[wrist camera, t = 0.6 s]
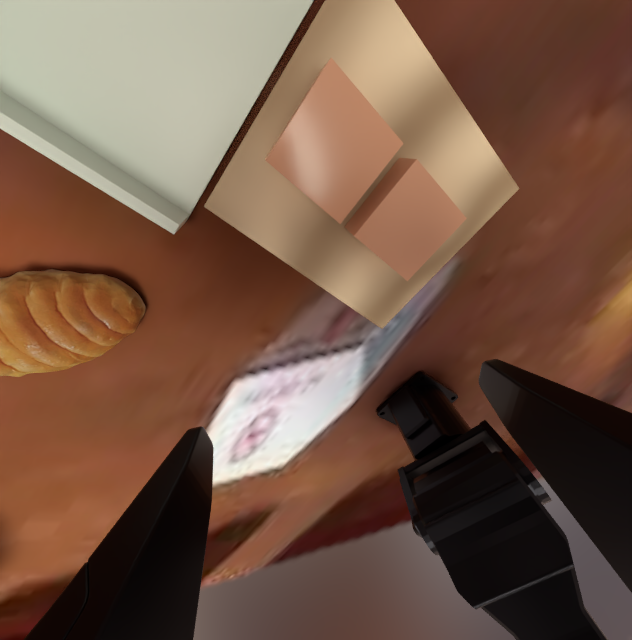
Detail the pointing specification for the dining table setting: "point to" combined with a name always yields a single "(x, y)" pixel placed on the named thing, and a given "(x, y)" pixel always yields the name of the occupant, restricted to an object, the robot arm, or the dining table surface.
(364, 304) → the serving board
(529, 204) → the dining table surface
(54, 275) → the pastry
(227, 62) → the tray
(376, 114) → the tile
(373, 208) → the tile
